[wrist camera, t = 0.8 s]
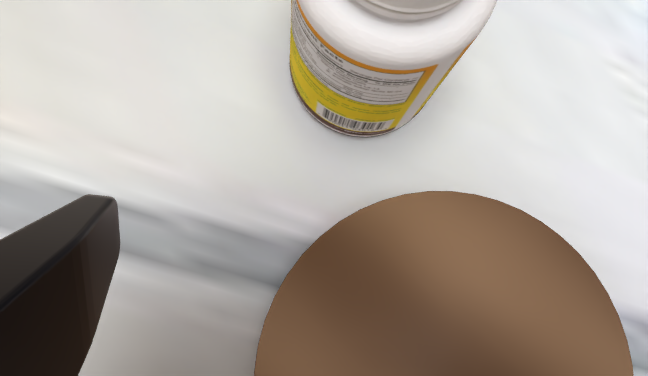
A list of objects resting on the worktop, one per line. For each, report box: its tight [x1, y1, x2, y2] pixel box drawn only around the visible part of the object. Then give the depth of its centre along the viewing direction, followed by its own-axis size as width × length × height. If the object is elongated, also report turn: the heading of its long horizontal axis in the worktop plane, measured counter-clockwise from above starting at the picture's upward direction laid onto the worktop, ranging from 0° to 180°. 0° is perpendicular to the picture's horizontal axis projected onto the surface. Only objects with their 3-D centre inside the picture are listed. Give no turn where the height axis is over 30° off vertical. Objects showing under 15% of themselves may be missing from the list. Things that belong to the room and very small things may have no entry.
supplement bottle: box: [290, 0, 497, 137], centre depth 18 cm, size 6×6×10 cm
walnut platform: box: [254, 191, 633, 376], centre depth 20 cm, size 12×12×3 cm
